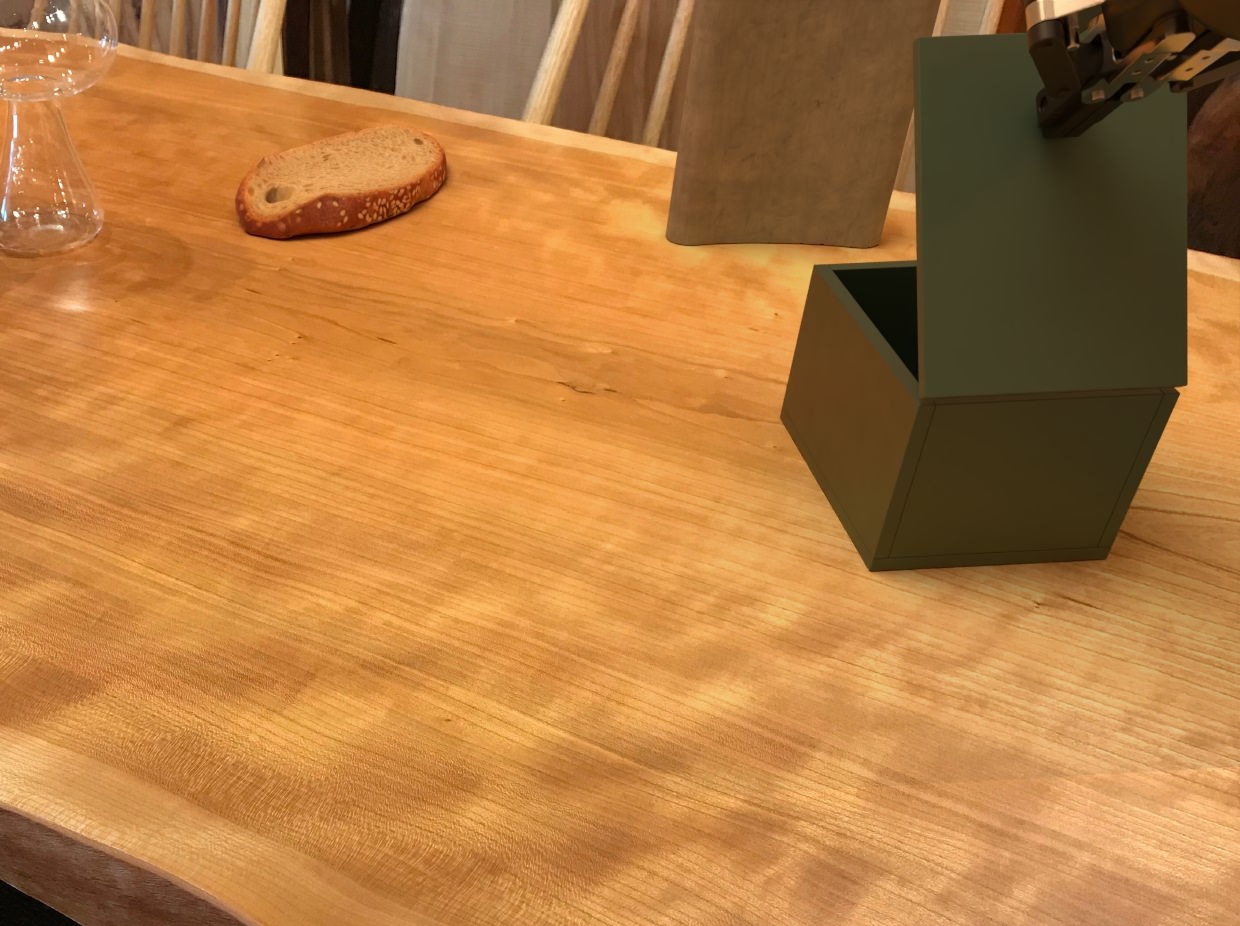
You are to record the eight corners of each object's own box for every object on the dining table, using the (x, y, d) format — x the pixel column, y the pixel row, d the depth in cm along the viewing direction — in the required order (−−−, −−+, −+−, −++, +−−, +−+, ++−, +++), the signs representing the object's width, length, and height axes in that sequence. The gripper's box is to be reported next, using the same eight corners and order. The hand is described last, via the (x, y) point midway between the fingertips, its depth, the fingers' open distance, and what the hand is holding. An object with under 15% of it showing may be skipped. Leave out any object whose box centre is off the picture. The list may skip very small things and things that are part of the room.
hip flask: (667, 244, 99) (709, -50, 86) (662, 223, 102) (702, -65, 89) (883, 248, 97) (960, -50, 84) (872, 226, 100) (944, -65, 87)
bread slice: (438, 147, 115) (439, 103, 112) (467, 231, 101) (469, 182, 99) (234, 158, 114) (231, 114, 112) (236, 243, 101) (232, 195, 98)
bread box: (779, 417, 80) (813, 264, 73) (982, 407, 80) (1034, 254, 74) (869, 571, 68) (919, 405, 62) (1106, 559, 68) (1181, 393, 62)
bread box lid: (912, 41, 60) (918, 36, 60) (1179, 30, 61) (1187, 25, 60) (918, 399, 62) (924, 398, 61) (1179, 387, 62) (1188, 385, 61)
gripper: (1166, -19, 42) (921, 204, 60) (1561, -36, 43) (1204, 191, 60) (1144, -239, 43) (908, 45, 60) (1535, -253, 43) (1188, 33, 61)
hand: (1056, 118), depth 60 cm, fingers closed
